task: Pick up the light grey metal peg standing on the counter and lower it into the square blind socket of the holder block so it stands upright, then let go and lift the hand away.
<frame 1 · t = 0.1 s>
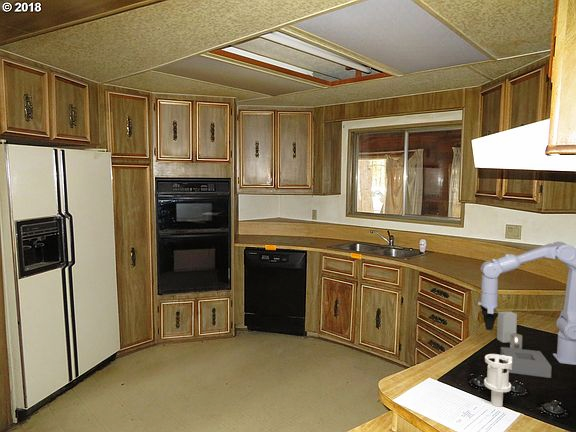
hand: (488, 326, 155), 10 cm above the worktop, tool pointing down, fingers open, 7 cm apart
skincare box: (506, 341, 166), on the worktop
socket block: (524, 366, 142), on the worktop
strainer: (496, 404, 118), on the worktop
peg: (515, 352, 154), on the worktop
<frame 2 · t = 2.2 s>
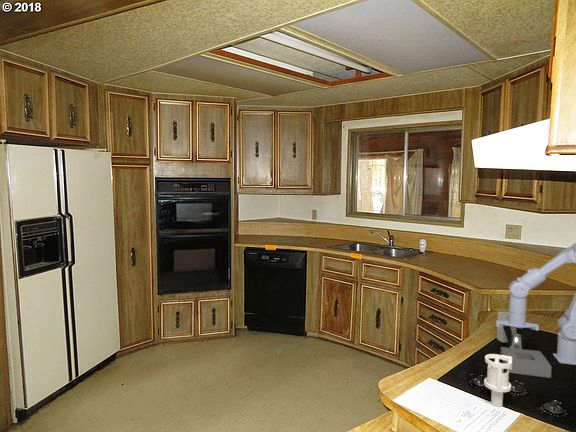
hand: (515, 346, 154), 3 cm above the worktop, tool pointing down, fingers closed on peg, 4 cm apart
peg: (515, 352, 154), on the worktop, touching gripper
everything else where it was.
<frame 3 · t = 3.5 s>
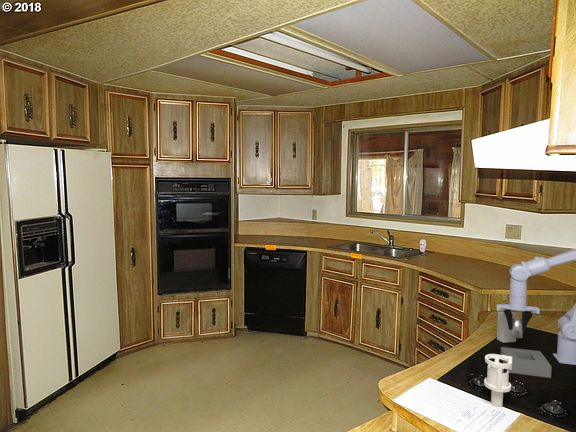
hand: (516, 329, 154), 9 cm above the worktop, tool pointing down, fingers closed on peg, 4 cm apart
peg: (516, 336, 154), point 7 cm above the worktop, touching gripper
everything else where it was.
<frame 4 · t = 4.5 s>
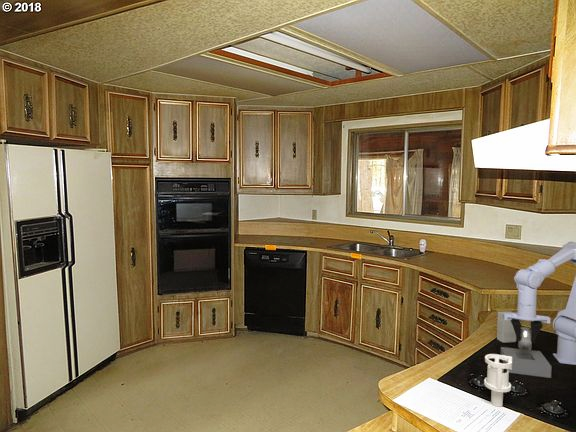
hand: (525, 340, 141), 10 cm above the worktop, tool pointing down, fingers closed on peg, 4 cm apart
peg: (524, 348, 142), point 7 cm above the worktop, touching gripper
everything else where it was.
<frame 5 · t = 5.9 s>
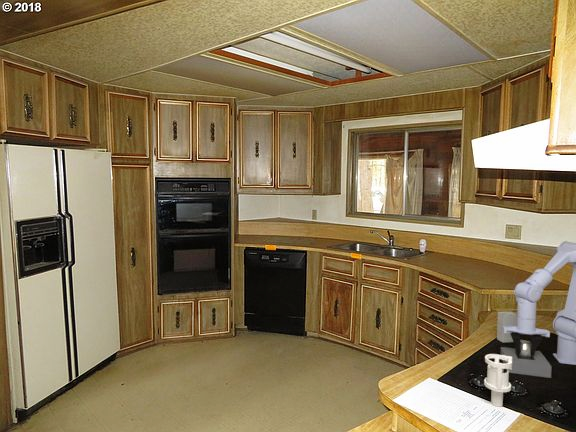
hand: (524, 354, 142), 5 cm above the worktop, tool pointing down, fingers closed on peg, 4 cm apart
peg: (524, 361, 142), point 2 cm above the worktop, touching gripper
everything else where it was.
when the fingers open (5 cm above the worktop, at t = 7.1 s): peg stays where it is, resting on socket block.
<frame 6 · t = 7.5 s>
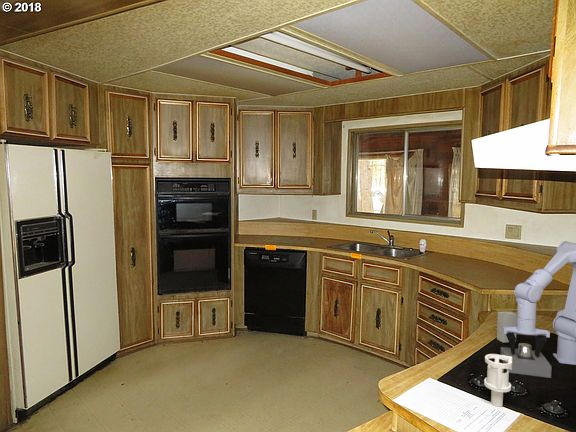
hand: (524, 354, 142), 5 cm above the worktop, tool pointing down, fingers open, 7 cm apart
peg: (524, 364, 142), point 1 cm above the worktop, touching socket block
everything else where it was.
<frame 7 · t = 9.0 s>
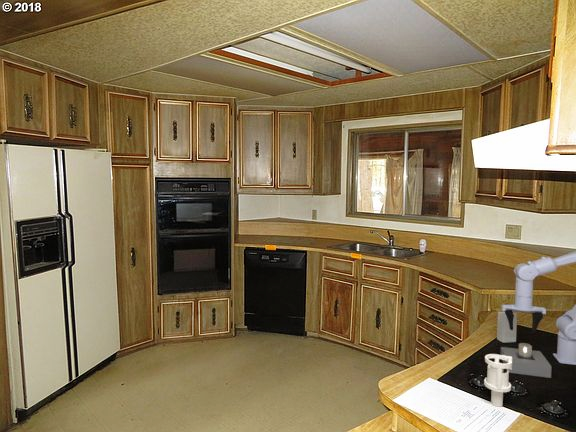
hand: (522, 330, 151), 10 cm above the worktop, tool pointing down, fingers open, 7 cm apart
nothing on the worktop moved.
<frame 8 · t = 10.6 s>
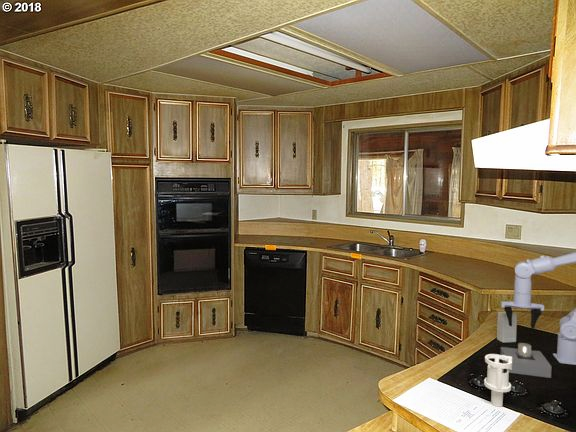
hand: (521, 326, 155), 10 cm above the worktop, tool pointing down, fingers open, 7 cm apart
nothing on the worktop moved.
at the end: peg 0.2 cm off-centre on the socket block, point 1.0 cm above the socket block's base; peg tilted 1°; the gripper is holding nothing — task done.
